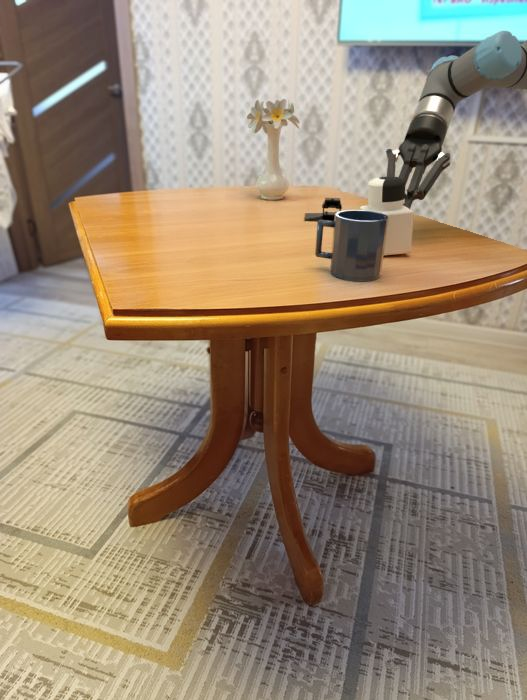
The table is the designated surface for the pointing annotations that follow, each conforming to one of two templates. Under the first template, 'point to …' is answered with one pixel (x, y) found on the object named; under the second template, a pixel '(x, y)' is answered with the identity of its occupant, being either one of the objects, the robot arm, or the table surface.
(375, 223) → the mug
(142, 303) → the table surface
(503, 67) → the robot arm
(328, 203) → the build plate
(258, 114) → the flower vase
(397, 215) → the container
